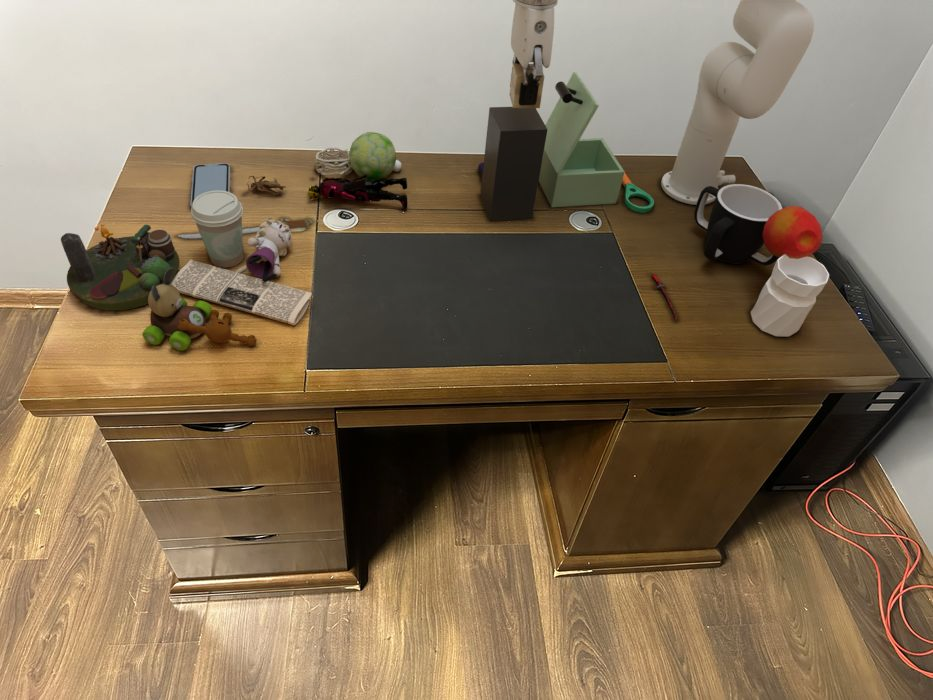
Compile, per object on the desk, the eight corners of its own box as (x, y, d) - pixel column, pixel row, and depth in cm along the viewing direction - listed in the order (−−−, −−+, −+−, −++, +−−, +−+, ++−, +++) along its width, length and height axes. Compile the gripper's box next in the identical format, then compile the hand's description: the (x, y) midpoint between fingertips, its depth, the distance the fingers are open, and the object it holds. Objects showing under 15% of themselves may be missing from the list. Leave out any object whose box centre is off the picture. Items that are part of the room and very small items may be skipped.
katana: (659, 272, 131) (658, 274, 132) (651, 272, 131) (650, 274, 132) (681, 320, 123) (680, 323, 124) (672, 320, 123) (671, 323, 123)
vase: (759, 336, 122) (787, 285, 113) (744, 303, 128) (769, 252, 119) (806, 337, 123) (838, 287, 114) (789, 304, 129) (817, 253, 120)
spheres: (365, 142, 158) (356, 143, 156) (366, 132, 156) (357, 133, 155) (402, 173, 150) (393, 174, 149) (404, 162, 149) (395, 163, 147)
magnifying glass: (657, 211, 147) (659, 205, 146) (631, 214, 146) (633, 207, 144) (629, 173, 157) (631, 166, 156) (604, 174, 156) (606, 168, 154)
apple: (830, 205, 113) (800, 196, 125) (774, 222, 115) (750, 211, 126) (838, 258, 116) (808, 244, 128) (784, 274, 118) (759, 259, 129)
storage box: (595, 169, 157) (602, 137, 151) (616, 203, 148) (624, 171, 142) (534, 172, 154) (539, 140, 148) (551, 207, 145) (557, 175, 139)
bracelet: (314, 163, 150) (350, 161, 152) (318, 179, 144) (356, 177, 146) (312, 145, 148) (350, 144, 150) (317, 161, 142) (355, 159, 144)
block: (535, 95, 129) (540, 63, 125) (539, 108, 126) (544, 76, 121) (509, 94, 129) (513, 63, 124) (512, 108, 125) (516, 75, 121)
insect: (280, 168, 137) (293, 182, 141) (243, 169, 139) (257, 182, 144) (275, 188, 135) (288, 201, 140) (238, 189, 138) (252, 201, 143)
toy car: (192, 354, 109) (175, 302, 101) (140, 342, 110) (120, 290, 102) (218, 315, 116) (205, 264, 108) (169, 305, 116) (152, 253, 108)
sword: (178, 248, 127) (176, 232, 130) (178, 249, 127) (177, 233, 130) (313, 229, 134) (309, 214, 137) (314, 230, 134) (309, 215, 137)
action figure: (407, 188, 148) (313, 188, 147) (406, 161, 145) (310, 161, 143) (407, 219, 137) (305, 220, 135) (406, 191, 133) (301, 192, 132)
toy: (253, 247, 114) (277, 203, 125) (206, 269, 117) (234, 225, 129) (284, 285, 118) (305, 239, 130) (238, 306, 122) (263, 260, 133)
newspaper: (293, 320, 114) (294, 327, 115) (312, 292, 119) (313, 299, 120) (166, 285, 118) (169, 292, 119) (189, 259, 122) (192, 266, 123)
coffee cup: (209, 277, 122) (195, 221, 114) (198, 249, 127) (183, 194, 119) (257, 265, 125) (247, 210, 117) (244, 238, 130) (233, 184, 122)
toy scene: (76, 254, 124) (54, 204, 116) (181, 241, 128) (167, 192, 121) (66, 321, 112) (42, 271, 105) (183, 305, 117) (167, 255, 109)
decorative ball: (359, 115, 141) (376, 137, 150) (332, 155, 141) (351, 175, 150) (396, 136, 138) (411, 157, 148) (369, 178, 138) (386, 196, 148)
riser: (520, 193, 148) (534, 105, 133) (532, 218, 142) (547, 129, 127) (480, 196, 146) (489, 107, 132) (489, 221, 140) (500, 131, 126)
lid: (576, 72, 139) (554, 64, 137) (599, 105, 130) (576, 97, 128) (541, 139, 148) (520, 132, 146) (559, 173, 139) (537, 167, 137)
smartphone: (189, 207, 135) (193, 164, 144) (190, 210, 135) (194, 168, 145) (229, 204, 136) (229, 162, 146) (229, 208, 137) (230, 166, 146)
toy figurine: (260, 315, 115) (258, 336, 110) (254, 333, 117) (252, 355, 111) (185, 296, 111) (179, 318, 105) (180, 315, 112) (174, 337, 107)
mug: (773, 284, 132) (799, 233, 124) (689, 269, 134) (709, 218, 125) (763, 234, 144) (787, 185, 135) (686, 221, 145) (705, 171, 136)
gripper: (573, 11, 108) (555, 118, 121) (543, -28, 120) (530, 74, 133) (527, 12, 107) (514, 120, 120) (501, -27, 118) (492, 75, 131)
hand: (522, 95), depth 126 cm, fingers closed on block, 5 cm apart
